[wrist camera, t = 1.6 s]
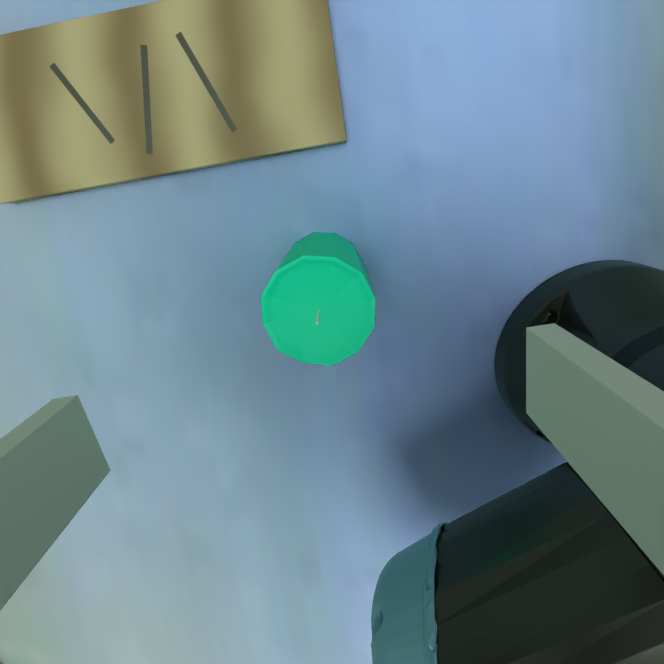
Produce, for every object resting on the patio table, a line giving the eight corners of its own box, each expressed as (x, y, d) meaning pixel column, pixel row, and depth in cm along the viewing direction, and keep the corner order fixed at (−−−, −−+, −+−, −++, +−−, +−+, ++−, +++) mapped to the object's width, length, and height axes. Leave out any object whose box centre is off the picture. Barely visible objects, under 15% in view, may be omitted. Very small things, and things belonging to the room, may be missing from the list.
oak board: (323, -21, 24) (322, -34, 23) (346, 142, 27) (346, 139, 26) (-47, 57, 25) (-69, 49, 24) (14, 203, 29) (-3, 203, 27)
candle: (295, 221, 29) (270, 242, 18) (374, 244, 29) (398, 281, 18) (275, 297, 31) (241, 361, 20) (349, 319, 31) (357, 393, 20)
